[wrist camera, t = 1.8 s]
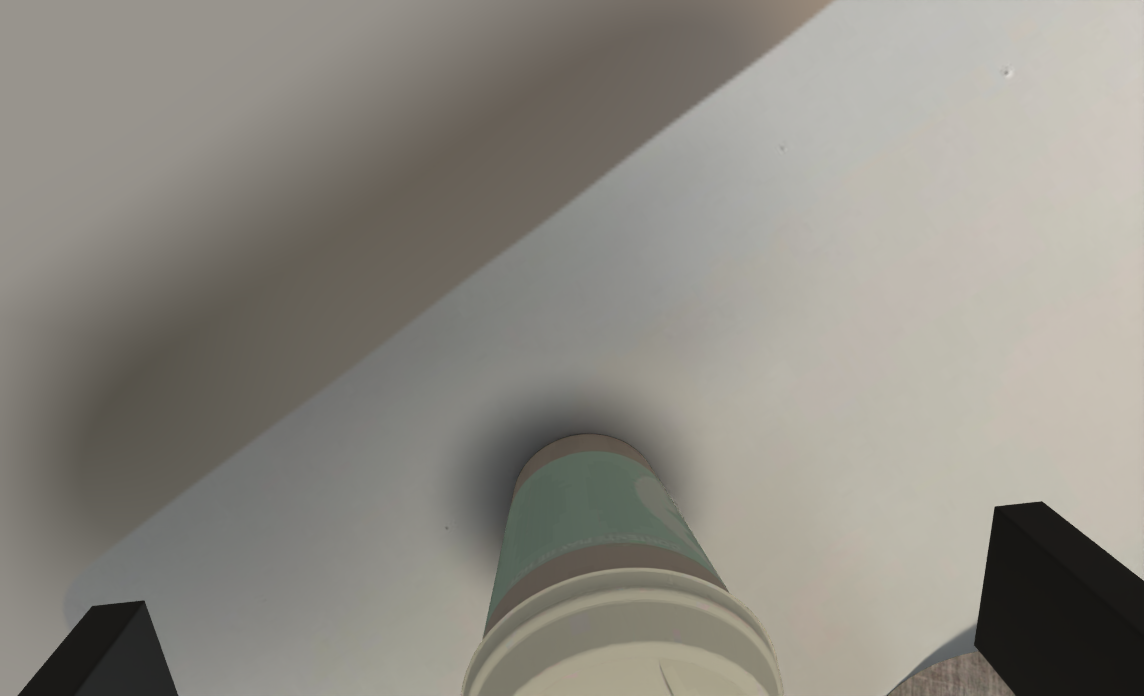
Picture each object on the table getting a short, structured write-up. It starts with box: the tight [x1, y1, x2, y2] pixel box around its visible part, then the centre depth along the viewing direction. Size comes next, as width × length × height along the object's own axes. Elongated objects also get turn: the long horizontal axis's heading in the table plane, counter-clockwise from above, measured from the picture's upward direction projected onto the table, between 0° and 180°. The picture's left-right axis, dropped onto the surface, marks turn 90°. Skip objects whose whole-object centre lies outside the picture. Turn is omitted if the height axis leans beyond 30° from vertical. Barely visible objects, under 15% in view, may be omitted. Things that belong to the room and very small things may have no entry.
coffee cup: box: [461, 434, 783, 696], centre depth 28 cm, size 11×11×15 cm
